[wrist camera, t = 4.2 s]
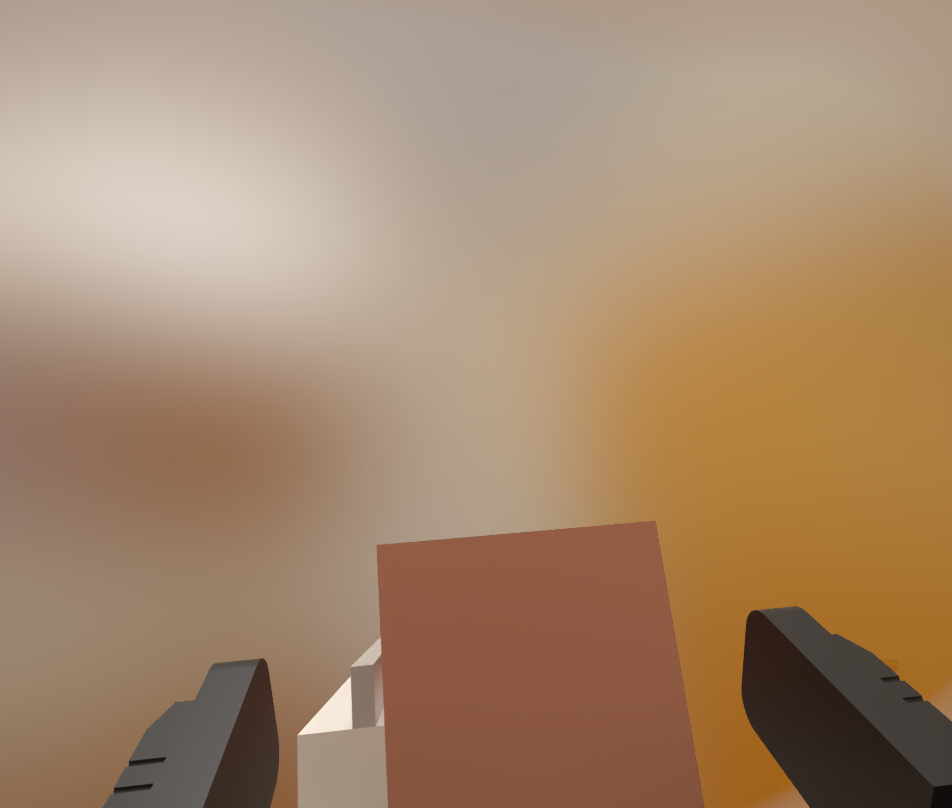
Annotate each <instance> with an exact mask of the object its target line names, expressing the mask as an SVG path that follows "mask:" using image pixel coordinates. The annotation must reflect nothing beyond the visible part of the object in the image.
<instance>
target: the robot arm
mask: <svg viewBox="0 0 952 808" xmlns="http://www.w3.org/2000/svg"><path fill="white" fill-rule="evenodd" d="M744 648H745V649H744V661H743V674H742V699H743V704H744V708H745V711H746V714H747V717H748V719H749V722H750V724H751V726H752V727H753V729H754V731H755V732H756V733H757V735H758V736H759V737H760V739H761V740H762V742H763V743H764V745H765V746H766V747H767V749H768V750H769V751H770V753H771V754H772V756H773V757H774V758H775V760H776V761H777V762H778V764H779V765H780V767H781V768H782V769H783V771H784V772H785V773H786V775H787V776H788V778H789V779H790V780H791V782H792V783H793V785H794V786H795V787H796V789H797V790H798V792H799V793H800V794H801V795H802V797H803V798H804V800H805V801H806V803H807V804H808V805H809V807H810V808H952V721H950V720H949V719H948V718H947V717H946V716H945V715H944V714H942V713H941V712H940V711H939V710H938V709H937V708H935V707H934V706H933V705H932V704H931V703H930V702H928V701H923V699H922V696H921V695H920V694H919V693H918V692H917V691H916V690H914V689H913V688H912V687H911V686H910V685H908V683H906V682H905V681H900V679H899V676H898V675H897V674H896V673H895V672H894V671H892V670H891V669H890V668H889V667H888V666H887V665H885V664H884V663H883V662H882V661H881V660H880V659H878V658H877V657H876V656H875V655H874V654H873V653H871V652H869V651H868V650H866V649H864V648H862V647H860V646H858V645H856V644H855V643H852V642H851V641H849V640H847V639H845V638H843V637H841V636H840V635H838V634H833V635H831V634H830V633H829V632H828V631H827V630H826V629H825V628H823V627H822V626H821V625H820V624H819V623H818V622H817V621H816V620H815V619H814V618H812V617H811V616H810V615H809V614H808V613H807V612H806V611H804V610H803V609H802V608H800V607H796V606H794V607H784V608H774V609H765V610H754V611H752V612H751V613H750V614H749V615H748V618H747V622H746V634H745V647H744ZM278 766H279V740H278V733H277V726H276V720H275V711H274V705H273V698H272V691H271V684H270V678H269V671H268V666H267V663H266V661H265V660H264V659H253V660H244V661H233V662H223V663H215V664H213V665H212V667H211V668H210V670H209V672H208V674H207V676H206V678H205V680H204V682H203V684H202V686H201V688H200V690H199V692H198V694H197V696H196V698H195V700H193V701H184V702H175V703H174V704H173V705H172V706H171V707H170V708H169V709H168V710H167V711H166V712H165V713H164V714H163V715H162V716H161V717H160V718H159V719H157V720H156V721H155V722H154V723H153V724H152V725H151V726H150V727H149V728H148V729H147V730H146V732H145V734H144V735H143V737H142V739H141V741H140V742H139V744H138V746H137V748H136V750H135V751H134V753H133V755H132V757H131V759H130V760H129V766H128V767H126V768H125V769H124V771H123V773H122V775H121V776H120V778H119V780H118V782H117V783H116V786H115V787H114V793H113V795H110V796H109V798H108V799H107V801H106V803H105V805H104V807H103V808H270V805H271V801H272V798H273V794H274V790H275V786H276V781H277V774H278Z"/></svg>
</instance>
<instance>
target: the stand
mask: <svg viewBox="0 0 952 808" xmlns="http://www.w3.org/2000/svg"><path fill="white" fill-rule="evenodd" d="M298 808H388V796H387V772H386V749H385V726H384V702H383V679H382V656H381V637H380V638H379V639H378V640H377V641H376V642H375V643H374V644H373V645H372V646H371V647H370V648H369V649H368V650H367V651H366V652H365V653H364V654H363V655H362V656H361V657H360V658H359V659H358V660H357V661H356V662H355V663H354V664H353V665H352V666H351V676H350V678H349V679H348V680H347V681H346V682H345V683H344V684H343V685H342V686H341V688H340V689H339V690H338V691H337V692H336V693H335V694H334V695H333V696H332V698H331V699H330V700H329V701H328V702H327V703H326V704H325V705H324V706H323V708H322V709H321V710H320V711H319V712H318V713H317V714H316V716H315V717H314V718H313V719H312V720H311V721H310V722H309V723H308V724H307V725H306V726H305V728H304V729H303V730H302V731H301V732H300V733H299V734H298Z"/></svg>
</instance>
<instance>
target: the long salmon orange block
mask: <svg viewBox="0 0 952 808" xmlns="http://www.w3.org/2000/svg"><path fill="white" fill-rule="evenodd" d="M377 560H378V561H377V563H378V586H379V608H380V632H381V656H382V679H383V702H384V726H385V749H386V772H387V796H388V808H704V802H703V796H702V790H701V784H700V779H699V773H698V767H697V761H696V755H695V750H694V743H693V738H692V732H691V726H690V720H689V714H688V708H687V702H686V697H685V691H684V685H683V679H682V674H681V667H680V661H679V656H678V650H677V644H676V638H675V632H674V627H673V621H672V615H671V609H670V604H669V597H668V591H667V585H666V579H665V574H664V568H663V562H662V556H661V550H660V545H659V539H658V533H657V527H656V522H655V521H650V522H637V523H626V524H614V525H603V526H592V527H580V528H569V529H557V530H545V531H534V532H523V533H511V534H500V535H488V536H477V537H465V538H454V539H442V540H432V541H420V542H409V543H396V544H385V545H377Z"/></svg>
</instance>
